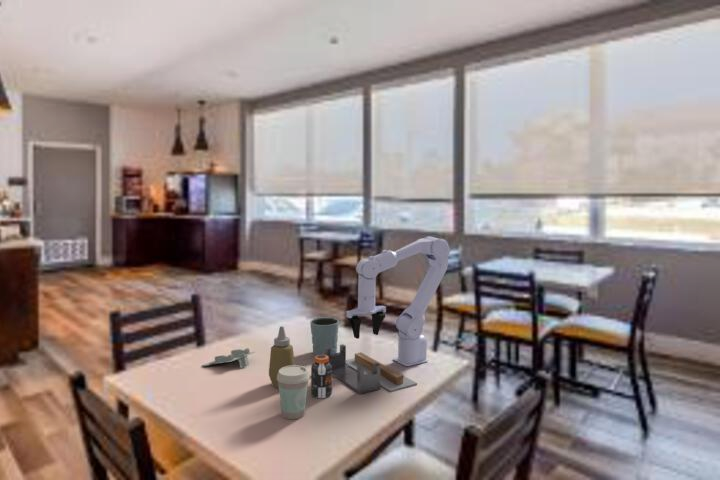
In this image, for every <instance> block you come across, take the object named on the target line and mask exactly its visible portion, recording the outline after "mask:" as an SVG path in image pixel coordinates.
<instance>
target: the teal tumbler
mask: <svg viewBox="0 0 720 480" xmlns="http://www.w3.org/2000/svg"><path fill="white" fill-rule="evenodd" d="M309 323H310V333H311V343H312V353H313V355H314V357H315V356H317V355H325V348H327V347H328V348H330V349H331V354H334V353H338V342H339V341H338V339H339V338H338V337H339V336H338V334H339V324H340V321H339V319H337V318H334V317H330V316H329V317H327V316H326V317H325V316H324V317H316V318H313V319H312V320H310V322H309Z"/></svg>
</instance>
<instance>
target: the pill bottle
mask: <svg viewBox="0 0 720 480" xmlns="http://www.w3.org/2000/svg"><path fill="white" fill-rule="evenodd" d="M310 369H311V370H310V371H311V373H310V375H311V376H310V394H311V396H312V397H313V398H316V399H326V398H329V397H331V395H333V391H332V390H333V385H332V384H333V383H332V382H333V375H332V365H331V364H330V363H329V357H328V356H327V355H317V356H315V355H314V362H313V363H312V364H311V367H310Z"/></svg>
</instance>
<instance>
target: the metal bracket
mask: <svg viewBox="0 0 720 480" xmlns="http://www.w3.org/2000/svg"><path fill="white" fill-rule="evenodd" d="M254 353H255V351H252V352H251V351H250V348H245V349H241V348H240V349H233V350H231V351H230V354H229V355H217V356H214V360H213V361H210V362H207V363H205V364H204V363H203V364H202V365H201V367H208V366H210V365H215V364H223V363H231V362H234V361H236V360H238V363H239V368H240V369H244V368H247V367H248V366H250V364H249V359H248V356H249V355H252V354H254Z"/></svg>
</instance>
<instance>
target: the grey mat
mask: <svg viewBox="0 0 720 480" xmlns="http://www.w3.org/2000/svg"><path fill="white" fill-rule="evenodd" d="M346 366H347V367H349V368H351V369H352V370H354V371H355V372H357V367H362V368H364V374H367V373H371V372H373V371H372V370H370V369H368V368H366V367H365V366H363V365H361V364H360V363H358V362H356V361H355V357H354V358H350V359H346ZM417 385H418V382H416V381H414V380H412V379H410V378H409V377H407V376H405V375H403V384H399V385H395V384H394V383H392V382H390V381H389V380H387V379H385V378H384V377H382V376H380V387H382V388H383V389H385V390H387V392H390V393H392V392H396V391H398V390H404V389H407V388H410V387H414V386H417Z"/></svg>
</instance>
